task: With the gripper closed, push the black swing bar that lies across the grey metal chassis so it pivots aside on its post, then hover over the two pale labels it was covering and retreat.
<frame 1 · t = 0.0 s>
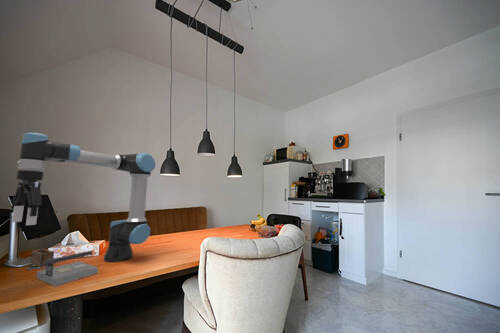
hand: (23, 223, 86), 28 cm above the table, fingers open, 13 cm apart
chassis: (67, 275, 104), on the table
smartphone: (41, 265, 118), resting in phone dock
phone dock: (41, 264, 118), on the table
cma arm: (70, 257, 105), point 9 cm above the table, hinge at 0.0°
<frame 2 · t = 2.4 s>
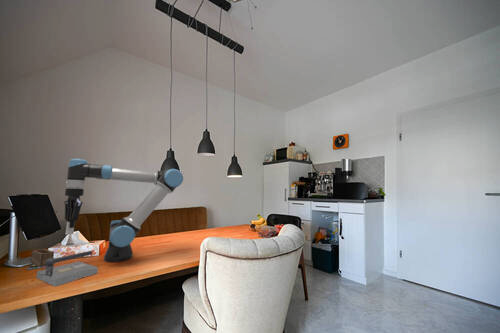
hand: (69, 234, 110), 19 cm above the table, fingers closed
nothing on the table moved.
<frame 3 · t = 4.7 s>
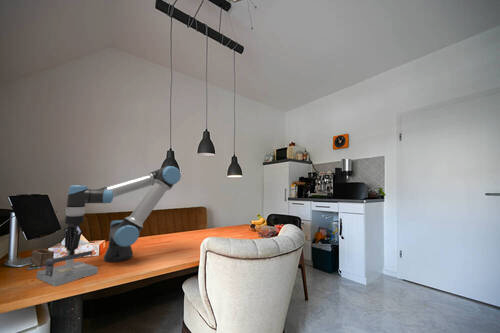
hand: (69, 263, 108), 5 cm above the table, fingers closed
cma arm: (70, 257, 105), point 9 cm above the table, hinge at 0.0°, touching gripper
everything else where it was.
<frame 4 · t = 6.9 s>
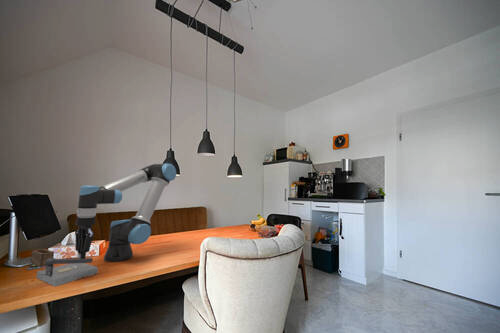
hand: (80, 266, 103), 5 cm above the table, fingers closed
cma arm: (69, 261, 100), point 9 cm above the table, hinge at 53.5°, touching gripper
everything else where it was.
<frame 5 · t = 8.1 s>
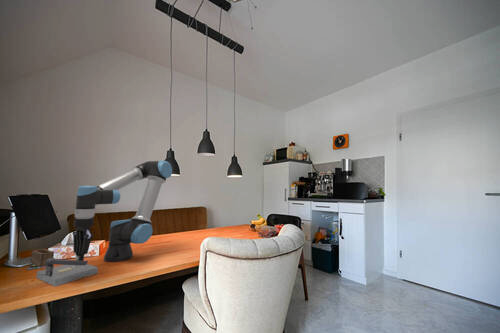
hand: (78, 269, 100), 5 cm above the table, fingers closed
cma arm: (66, 262, 98), point 9 cm above the table, hinge at 65.9°, touching gripper
everything else where it was.
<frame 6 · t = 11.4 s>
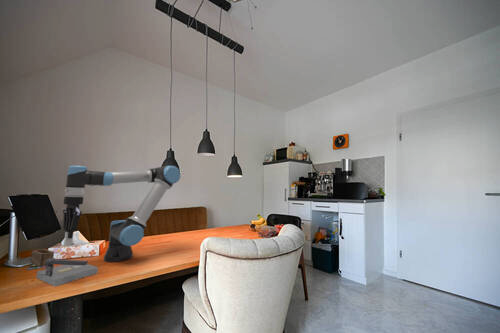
hand: (67, 245, 105), 15 cm above the table, fingers closed
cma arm: (66, 262, 98), point 9 cm above the table, hinge at 65.9°
everything else where it was.
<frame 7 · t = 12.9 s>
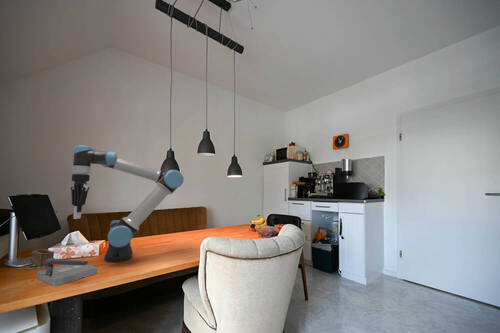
hand: (77, 218, 114), 26 cm above the table, fingers closed
nothing on the table moved.
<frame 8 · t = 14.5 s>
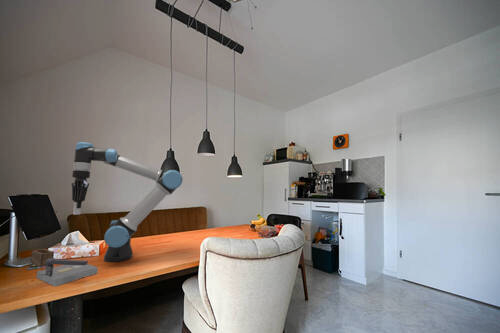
hand: (76, 214, 115), 28 cm above the table, fingers closed
nothing on the table moved.
at the end: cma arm at +66° (first picture: +0°); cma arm touching nothing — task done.
